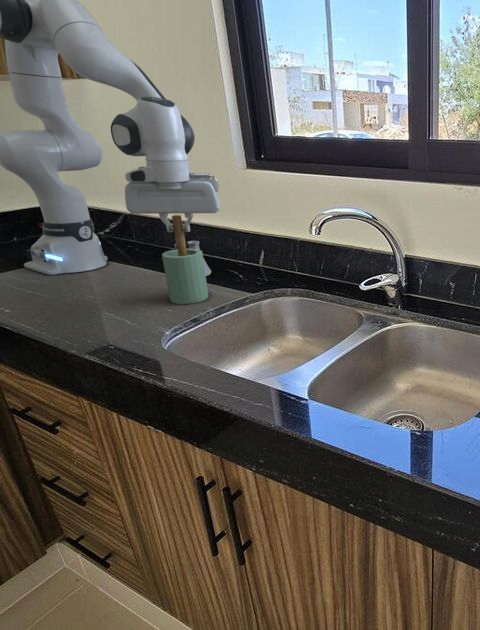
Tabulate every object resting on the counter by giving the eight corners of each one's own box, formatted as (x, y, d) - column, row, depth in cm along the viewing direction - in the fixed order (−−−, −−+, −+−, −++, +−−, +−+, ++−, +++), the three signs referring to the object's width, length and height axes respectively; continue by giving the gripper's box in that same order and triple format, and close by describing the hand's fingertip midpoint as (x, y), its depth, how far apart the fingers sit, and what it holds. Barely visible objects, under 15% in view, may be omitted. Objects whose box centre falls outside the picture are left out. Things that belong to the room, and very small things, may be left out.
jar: (162, 301, 120) (153, 255, 115) (188, 290, 128) (181, 247, 123) (191, 306, 117) (183, 259, 113) (215, 294, 125) (209, 250, 121)
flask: (215, 272, 144) (211, 239, 140) (203, 279, 137) (198, 245, 133) (193, 270, 144) (188, 238, 141) (179, 277, 138) (174, 244, 134)
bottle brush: (175, 279, 119) (164, 216, 113) (186, 275, 122) (176, 213, 116) (187, 281, 118) (176, 217, 112) (197, 277, 121) (187, 215, 116)
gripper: (218, 172, 116) (225, 228, 121) (126, 171, 111) (137, 229, 117) (214, 174, 110) (221, 233, 115) (117, 174, 106) (129, 235, 111)
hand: (178, 231), depth 116 cm, fingers closed on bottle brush, 2 cm apart
